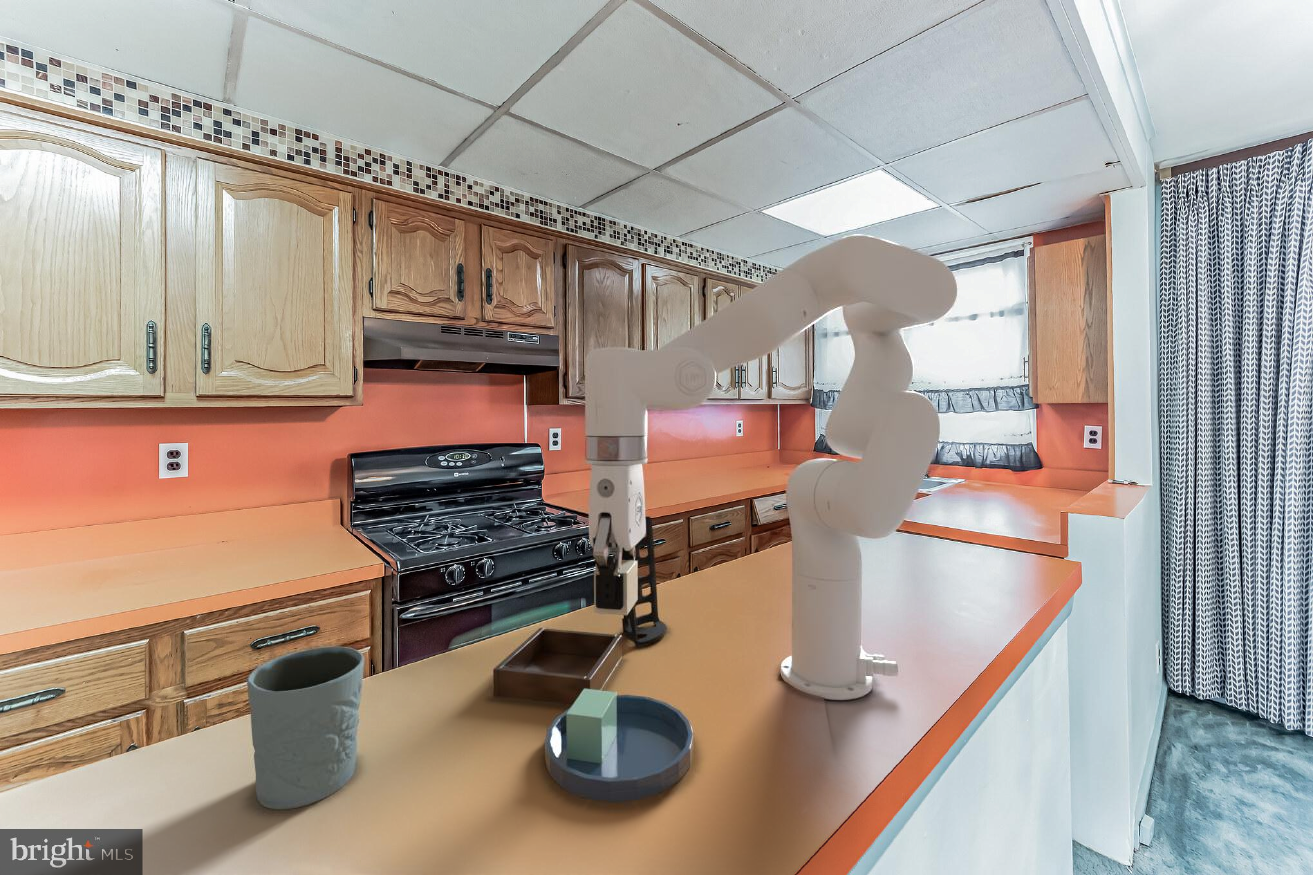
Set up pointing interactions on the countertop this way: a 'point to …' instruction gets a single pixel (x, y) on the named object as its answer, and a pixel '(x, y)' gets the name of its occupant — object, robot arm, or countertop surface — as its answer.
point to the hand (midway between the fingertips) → (616, 597)
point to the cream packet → (624, 588)
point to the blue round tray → (627, 753)
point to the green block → (591, 725)
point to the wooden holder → (557, 666)
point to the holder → (645, 597)
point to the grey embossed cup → (305, 724)
